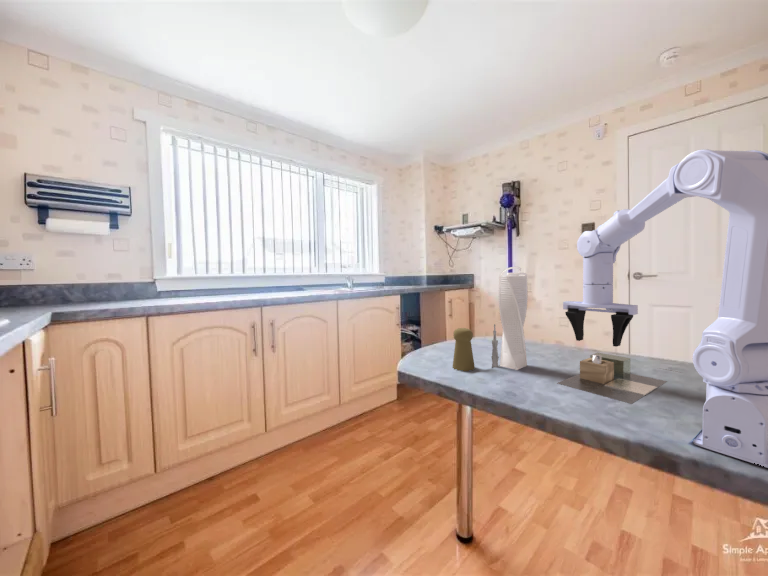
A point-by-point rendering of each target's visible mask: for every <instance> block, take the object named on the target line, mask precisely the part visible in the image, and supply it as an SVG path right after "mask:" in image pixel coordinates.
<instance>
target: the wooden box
mask: <svg viewBox="0 0 768 576" xmlns="http://www.w3.org/2000/svg"><path fill="white" fill-rule="evenodd" d="M579 374H580V378H582V379H586V380H590V381H594V382H598V383H602V384H605V383H607V382H609V381H611V380H613V379H614V362H610V361H605V360H601V364H597V363H592V358H590V357H588V358H585V359H582V360H580V361H579Z"/></svg>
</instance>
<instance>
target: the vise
mask: <svg viewBox="0 0 768 576" xmlns="http://www.w3.org/2000/svg"><path fill="white" fill-rule="evenodd" d="M589 356H590V357H589V358H592V363H597V364H601V360H605V361H610V362H614V379H613V380H611V381H609V382H607V383H605V384H602V383H598V382H594V381H590V380H586V379H582V378H580V373H578V374H576V375H572V376H571V377H568V378H565V379H564V380H561V381H559V382H556V384H558V385H561V386H564V387H568V388H572V389H575V390H578V391H581V392H586V393H590V394H593V395H597V396H601V397H605V398H607V399H612V400H615V401H619V402H622V403H626V404H629V405H632V404H634V403H635V402H637V401H638V400H640V399H641V398H643V397H645V396H646V395H648V394H649V393H651V392H653V391H654V390H656V389H657V388H659V387H661V386H662V385H664V384H666V383H667V382H668V381H667V380H662V379H657V378H653V377H648V376H644V375H638V374H636V373H635V374H634V373H631V359H632V358H631V357H625V356H619V355H614V354H609V353H603V352H595V353H593V354H590V355H589Z"/></svg>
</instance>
